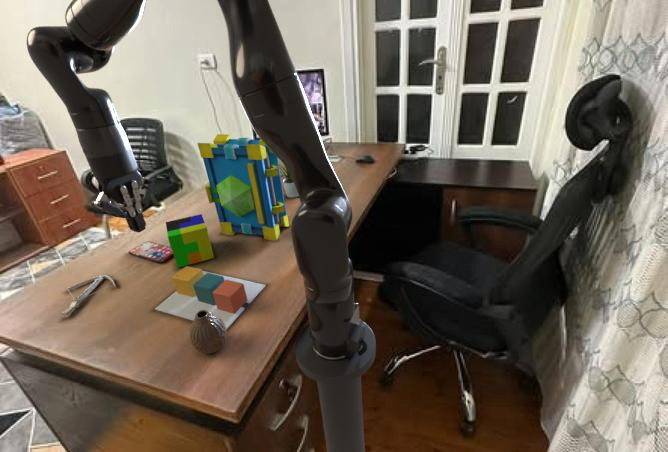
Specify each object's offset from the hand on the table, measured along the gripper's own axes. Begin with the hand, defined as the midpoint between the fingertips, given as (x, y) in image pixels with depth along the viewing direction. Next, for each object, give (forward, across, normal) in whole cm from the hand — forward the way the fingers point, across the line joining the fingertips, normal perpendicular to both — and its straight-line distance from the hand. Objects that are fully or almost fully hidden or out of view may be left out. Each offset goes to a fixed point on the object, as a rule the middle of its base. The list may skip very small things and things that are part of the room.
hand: (139, 230), depth 73 cm
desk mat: (+21, +6, -7) cm, 23 cm away
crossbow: (+22, -4, +25) cm, 33 cm away
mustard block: (+21, +7, 0) cm, 22 cm away
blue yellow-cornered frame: (+22, +38, +1) cm, 44 cm away
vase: (+22, -6, -18) cm, 29 cm away
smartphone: (+21, +17, +24) cm, 37 cm away
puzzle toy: (+21, +20, +11) cm, 32 cm away
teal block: (+21, +6, -8) cm, 23 cm away
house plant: (+22, +66, +4) cm, 70 cm away
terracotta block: (+21, +5, -14) cm, 26 cm away
